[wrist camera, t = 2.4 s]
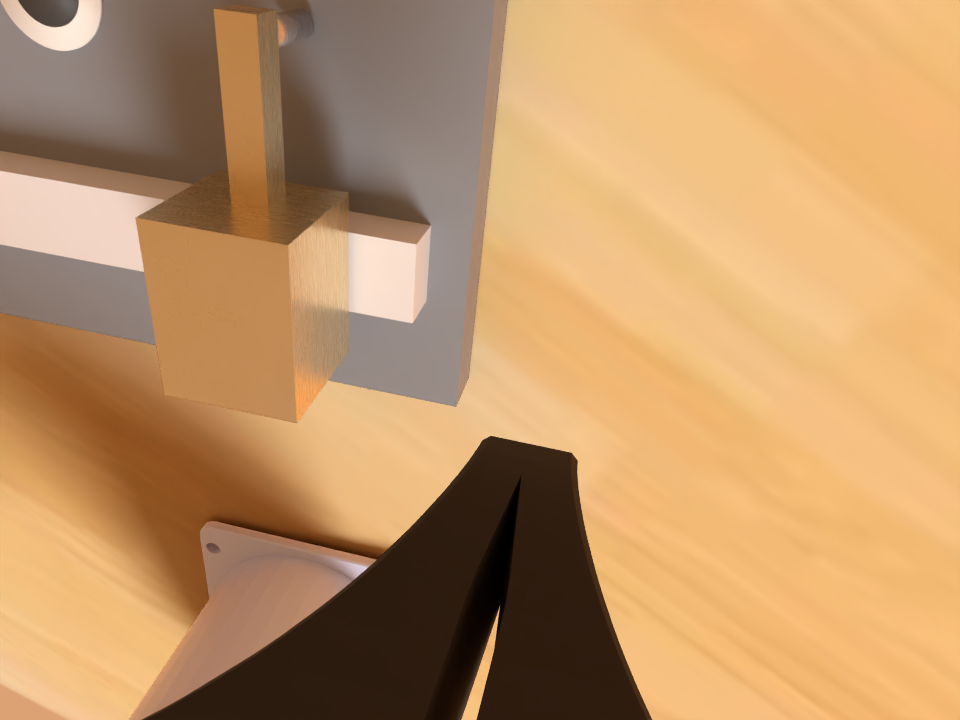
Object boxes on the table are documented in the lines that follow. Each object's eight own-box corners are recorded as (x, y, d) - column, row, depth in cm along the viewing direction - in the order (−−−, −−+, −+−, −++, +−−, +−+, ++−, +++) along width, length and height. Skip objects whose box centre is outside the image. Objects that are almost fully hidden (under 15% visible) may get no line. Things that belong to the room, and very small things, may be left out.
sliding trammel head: (365, 328, 19) (296, 423, 15) (256, 307, 19) (164, 394, 16) (369, 7, 15) (278, 34, 11) (231, -13, 15) (100, 9, 12)
